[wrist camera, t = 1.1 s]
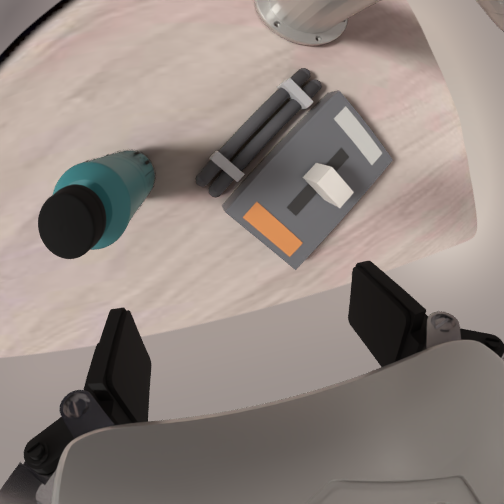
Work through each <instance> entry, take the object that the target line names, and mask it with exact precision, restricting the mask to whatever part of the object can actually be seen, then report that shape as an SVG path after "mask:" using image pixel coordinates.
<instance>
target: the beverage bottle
mask: <svg viewBox="0 0 504 504" xmlns="http://www.w3.org/2000/svg"><path fill="white" fill-rule="evenodd" d="M129 150H130V149H129ZM132 150H133V149H132ZM117 152H118V151H117ZM143 154H144V153H142V154H141V153H140V152H139V151H138V152H136V150H135V151H124V150H123V152H119V153H115V154H114V153H113V154H112V155H111V154H110V155H109V154H108V155H106V156H104V157H101V158H97V159H96V158H94V160H92V159H91V161H89V160H88V161H89V162H88V161H86V162H83V163H80V164H77V165H75V166H73V167H71V168H70V169H68V170H67V171H66V172H65V173H64V174H63V175H62V176H61V178H60V179H59V180H58V182H57V184H56V186H55V189H54V192H53V195H52V196H51V197H50V198H48V199H47V200H46V202H45V203H44V204H43V206H42V208H41V211H40V214H39V218H38V228H39V233H40V236H41V239H42V241H43V243H44V244H45V246H46V247H47V248H48V249H49V250H50V251H51V252H52V253H53V254H55V255H57V256H59V257H61V258H65V259H74V258H78V257H80V256H82V255H84V254H85V253H87V252H88V251H89V250H90V249H91V250H95V249H101V248H105V247H107V246H109V245H111V244H113V243H114V242H115V241H117V240H118V239H119V238H120V236H121V235H122V234H123V232H124V231H125V229H126V227H127V225H128V223H129V221H130V220H131V218H132V217H133V215H134V214H135V212H136V211H137V209H138V208H139V206H140V207H141V204H142V203H143V201H145V198H146V197H147V196H148V194H149V193H150V191H151V189H152V187H154V186H153V185H154V183H155V182H154V181H155V180H154V179H155V175H156V174H155V173H154V169H153V166H152V164H151V161H149V158H147V157H146V156H144V155H143ZM154 174H155V175H154ZM138 210H139V209H138Z"/></svg>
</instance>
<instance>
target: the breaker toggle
mask: <svg viewBox="0 0 504 504" xmlns="http://www.w3.org/2000/svg"><path fill="white" fill-rule="evenodd" d="M303 178H304V179H305V180H306V181H307V183H308V184H309V185H310V186H311V187H312V188H313V189H314V190H315V191H316V192H317V193H318V194H319V195H320V196H321V197H322V198H323V199H324V200H325V201H327V202H329V203H331V204H333V205H335V206H337V207H338V208H341V207H342V205H343V204H344V203H345V202H346V201H347V200H348V199H349V198H350V196H351V195H352V194H353V193H354V192H353V191H352V190H351V188H350V187H349V186H348V185H347V184H346V183H345V181H344V180H343V179H342V178H341V177H340V176H339V174H338V173H337V172H336V171H335V170H334V169H333V168H332V167H330V166H327V165H323V164H319V163H315V165H314V166H313V167H312V168H311V169H310V170H309V171H308V172H307V173H306V174H305V175H304V177H303Z"/></svg>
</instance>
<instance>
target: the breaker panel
mask: <svg viewBox="0 0 504 504" xmlns="http://www.w3.org/2000/svg"><path fill="white" fill-rule="evenodd" d="M392 161H393V159H392V158H391V156H390V155H389V154H388V152H387V151H386V149H385V148H384V146H383V145H382V144H381V142H380V141H379V140H378V138H377V137H376V135H375V134H374V133H373V131H372V130H371V129H370V128H369V126H368V125H367V124H366V122H365V121H364V120H363V119H362V117H361V116H360V115H359V114H358V112H357V111H356V110H355V109H354V107H353V106H352V105H351V104H350V103H349V101H348V100H347V99H346V98H345V97H344V96H343V94H342V93H341V92H340V91H339V90H338V91H334V92H330V93H327V94H326V95H325V96H324V97H323V98H322V99H321V100H320V101H319V102H318V103H317V104H316V105H315V106H314V107H313V108H312V109H311V110H310V111H309V112H308V113H307V114H306V115H305V116H304V117H303V118H302V119H301V120H300V121H299V122H298V123H297V124H296V125H295V126H294V127H293V129H292V130H291V131H290V132H289V133H288V134H287V135H286V136H285V137H284V138H283V139H282V140H281V141H280V142H279V143H278V144H277V145H276V146H275V147H274V149H273V150H272V151H271V152H270V153H269V154H268V155H267V156H266V157H265V158H264V159H263V160H262V161H261V163H260V164H259V165H258V166H257V167H256V168H255V169H254V170H253V171H252V172H251V174H250V175H249V176H248V177H247V178H246V179H245V180H244V181H243V182H242V184H241V185H240V186H239V187H238V188H237V189H236V190H235V191H234V193H233V194H232V195H231V196H230V197H229V198H228V199H227V200H226V202H225V203H224V204H223V205H222V207H223V209H224V211H225V212H226V213H227V214H228V215H229V216H231V217H232V218H233V219H234V220H236V221H237V222H238V223H239V224H240V225H242V226H243V227H244V228H245V229H247V230H248V231H249V232H250V233H251V234H253V235H254V236H255V237H256V238H258V239H259V240H260V241H261V242H262V243H264V244H265V245H266V246H267V247H268V248H270V249H271V250H272V251H273V252H274V253H276V254H277V255H278V256H279V257H281V258H282V259H283V260H284V261H285V262H287V263H288V264H289V265H290V266H291V267H293V268H294V269H295V270H296V269H297V268H298V267H299V266H300V265H301V264H302V263H303V262H304V261H305V259H306V258H307V257H308V256H309V255H310V254H311V253H312V252H313V251H314V250H315V249H316V248H317V246H318V245H319V244H320V243H321V242H322V241H323V240H324V239H325V238H326V237H327V235H328V234H329V233H330V232H331V231H332V230H333V229H334V228H335V227H336V225H337V224H338V223H339V222H340V221H341V220H342V219H343V218H344V217H345V215H346V214H347V213H348V212H349V211H350V210H351V209H352V207H353V206H354V205H355V204H356V203H357V202H358V201H359V199H360V198H361V197H362V196H363V195H364V194H365V193H366V191H367V190H368V189H369V188H370V187H371V186H372V184H373V183H374V182H375V181H376V180H377V179H378V177H379V176H380V175H381V174H382V173H383V171H384V170H385V169H386V168H387V167H388V165H389V164H390V163H391V162H392ZM315 163H319V164H323V165H327V166H330V167H332V168H333V169H334V170H335V171H336V172H337V173H338V174H339V176H340V177H341V178H342V179H343V180H344V181H345V183H346V184H347V185H348V186H349V187H350V188H351V190H352V191H353V192H354V193H353V194H352V195H351V196H350V198H349V199H348V200H347V201H346V202H345V203H344V204H343V205H342V207H341V208H338V207H337V206H335V205H333V204H331V203H329V202H327V201H325V200H324V199H323V198H322V197H321V196H320V195H319V194H318V193H317V192H316V191H315V190H314V189H313V188H312V187H311V186H310V185H309V184H308V183H307V181H306V180H305V179H304V178H303V177H304V175H305V174H306V173H307V172H308V171H309V170H310V169H311V168H312V167H313V166H314V165H315Z"/></svg>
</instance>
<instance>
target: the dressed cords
mask: <svg viewBox="0 0 504 504" xmlns="http://www.w3.org/2000/svg"><path fill="white" fill-rule="evenodd" d="M309 78H310V71H309V70H308V69H306V68H301V69H300V70H298V71H297V72H296V73H295V74H294V75H293V76H292V77H291V78H289V79H287V80H285V81H283V82H282V83H281V84H280V85H279V86H278V87H277V88H278V90H277V91H276V92H275V93H274V94H273V95H272V96H271V97H270V98H269V99H268V100H267V101H266V102H265V103H264V104H263V105H262V106H261V107H260V108H259V109H258V110H257V111H256V112H255V113H254V114H253V115H252V116H251V117H250V118H249V119H248V120H247V121H246V122H245V123H244V124H243V125H242V126H241V127H240V128H239V129H238V131H237V132H236V133H235V134H234V135H233V136H232V137H231V138H230V139H229V140H228V141H227V142H226V143H225V145H224V146H223V147H222V148H221V149H220V150H219V151H215V152H214V153H213V154H212V156H211V157H210V159H211V160H210V161H209V162H208V164H207V165H206V166H205V167H204V168H203V169H202V171H201V172H200V173H199V174H198V175H197V177H196V183H197V184H198V185H199V186H201V187H203V186H206V185H207V184H208V183H209V182H210V181H211V180H212V179H213V178H214V176H215V175H216V174H217V173H218V172H219V171H220V170H221V169H222V170H224V171H223V172H222V173H221V174H220V176H219V177H218V178H217V179H216V180H215V181H214V182H213V184H212V185H211V186H210V187H209V194H210V195H211V196H213V197H218V196H220V195H221V194H222V193H223V192H224V190H225V189H226V188H227V187H228V186H229V185H230V184H231V182H232V181H233V180H235V181H237V182H238V181H239V180H240V179H241V178H242V177H243V176H244V175H245V174H244V173H243V172H241V171H242V170H243V169H244V168H245V167H246V166H247V165H248V164H249V162H250V161H251V160H252V159H253V158H254V157H255V156H256V155H257V154H258V153H259V152H260V151H261V149H262V148H263V147H264V146H265V145H266V144H267V143H268V142H269V141H270V140H271V139H272V138H273V137H274V136H275V135H276V134H277V132H278V131H279V130H280V129H281V128H282V127H283V126H284V125H285V124H286V123H287V122H288V121H289V120H290V119H291V118H292V117H293V116H294V115H295V114H296V113H297V112H298V111H299V110H301V109H306V108H308V107H309V106H310V105H311V104H312V103H313V101H312V100H311V98H312V97H313V96H314V95H315V94H316V93H317V92H318V91H319V90H320V89H321V83H320V81H318V80H311V81H310V82H309V83H308V84H307V85H306V86H305V87H304V88H303V89H301V88H300V86H301V85H302V84H303V83H304V82H306V81H307V80H308V79H309ZM288 98H289V99H290V101H289V102H288V103H287V104H286V105H285V106H284V107H283V108H282V109H281V110H280V111H279V112H278V113H277V114H276V115H275V116H274V117H273V118H272V119H271V120H270V121H269V122H268V123H267V124H266V126H265V127H264V128H263V129H262V130H261V131H260V132H259V133H258V134H257V135H256V136H255V137H254V138H253V139H252V140H251V141H250V142H249V143H248V145H247V146H246V147H245V148H244V149H243V150H242V151H241V152H240V153H239V154H238V155H237V156H236V158H235V159H234V160H233V161H232V162H230V161H229V159H230V158H231V157H232V156H233V155H234V154H235V153H236V152H237V151H238V150H239V148H240V147H241V146H242V145H243V144H244V143H245V142H246V141H247V140H248V139H249V138H250V137H251V136H252V135H253V133H254V132H255V131H256V130H257V129H258V128H259V127H260V126H261V125H262V124H263V123H264V122H265V121H266V120H267V119H268V118H269V117H270V116H271V115H272V114H273V113H274V112H275V111H276V110H277V109H278V108H279V107H280V106H281V105H282V104H283V103H284V102H285V101H286V100H287V99H288Z"/></svg>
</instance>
